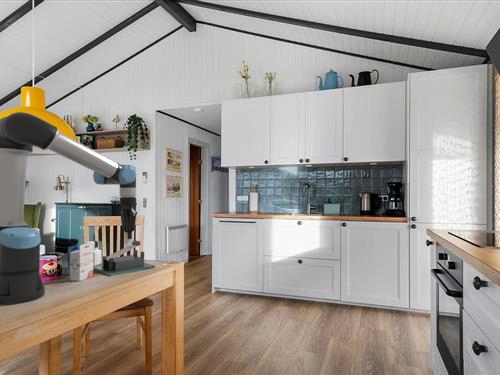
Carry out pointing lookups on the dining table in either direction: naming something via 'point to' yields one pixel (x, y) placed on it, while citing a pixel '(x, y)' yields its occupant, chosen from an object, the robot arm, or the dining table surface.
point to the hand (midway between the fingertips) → (128, 245)
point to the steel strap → (123, 250)
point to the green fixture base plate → (123, 264)
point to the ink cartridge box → (81, 263)
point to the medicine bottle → (95, 253)
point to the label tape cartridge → (68, 259)
